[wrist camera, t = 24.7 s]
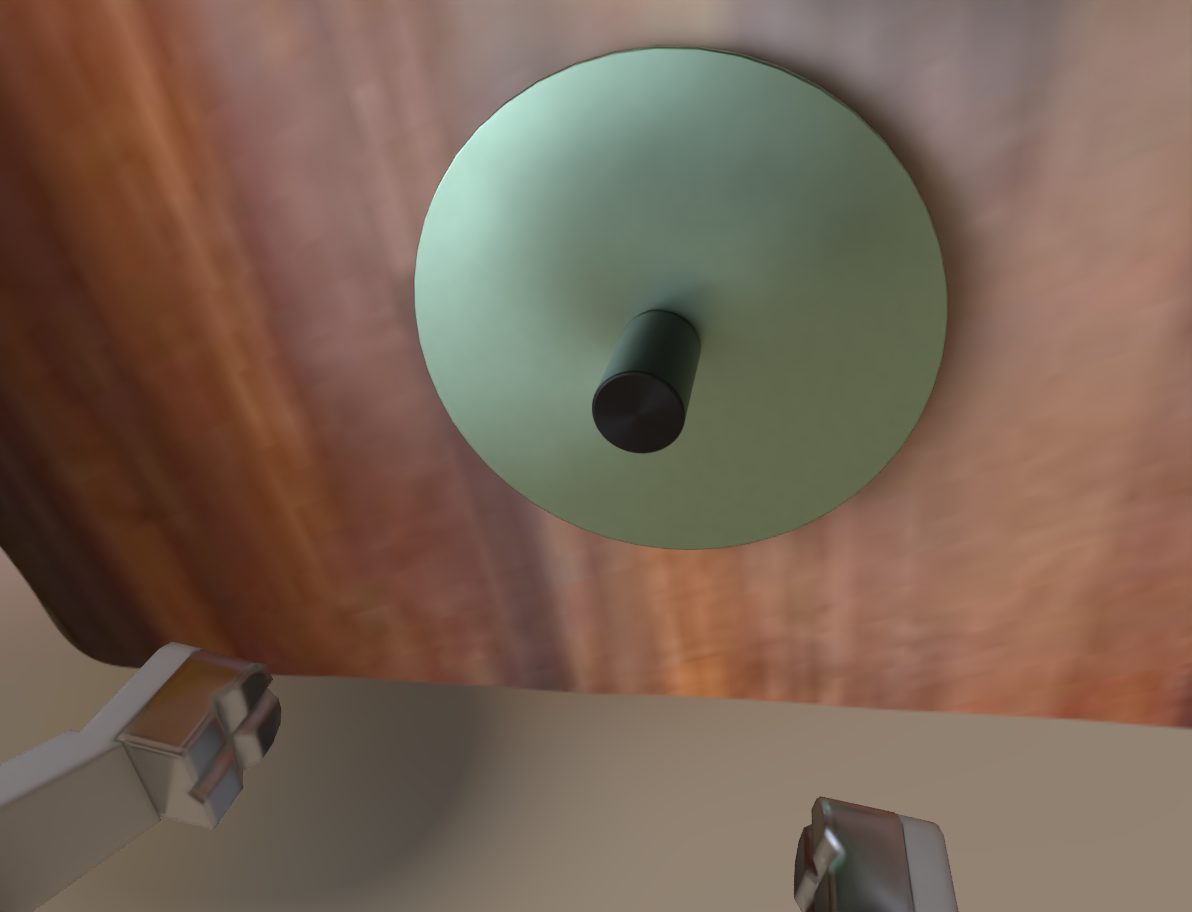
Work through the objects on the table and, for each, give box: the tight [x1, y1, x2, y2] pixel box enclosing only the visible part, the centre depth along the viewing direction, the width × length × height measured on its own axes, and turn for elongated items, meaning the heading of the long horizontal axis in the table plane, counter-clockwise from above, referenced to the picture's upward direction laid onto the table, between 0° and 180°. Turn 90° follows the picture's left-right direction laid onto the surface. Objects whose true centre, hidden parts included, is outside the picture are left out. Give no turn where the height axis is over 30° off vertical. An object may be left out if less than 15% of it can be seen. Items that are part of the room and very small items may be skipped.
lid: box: [414, 45, 948, 550], centre depth 20 cm, size 16×16×5 cm
